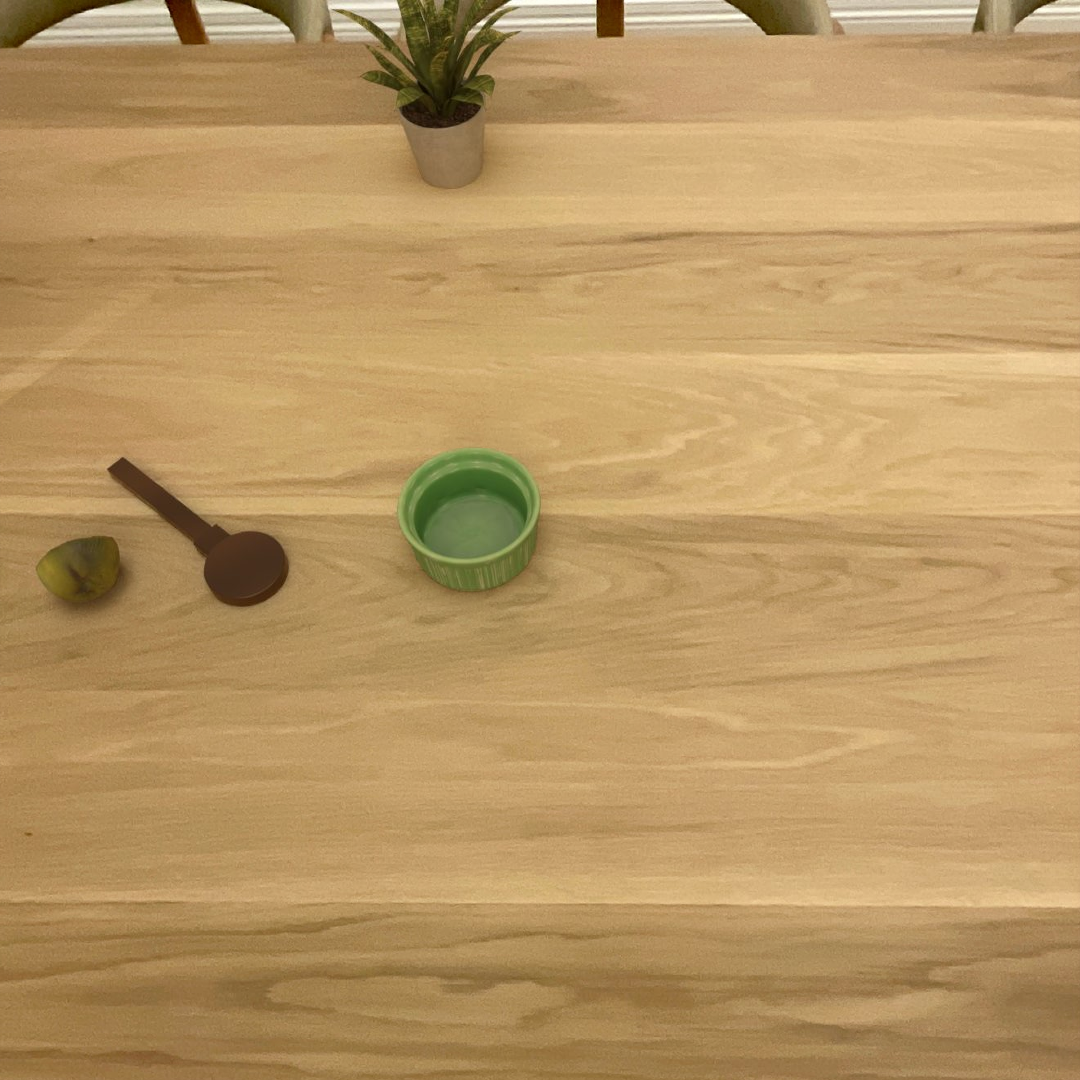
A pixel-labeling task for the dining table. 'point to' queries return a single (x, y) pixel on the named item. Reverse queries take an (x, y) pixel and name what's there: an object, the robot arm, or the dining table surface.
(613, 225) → the dining table surface
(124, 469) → the spoon
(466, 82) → the house plant
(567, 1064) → the dining table surface
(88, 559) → the lime
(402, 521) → the ramekin
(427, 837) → the dining table surface
